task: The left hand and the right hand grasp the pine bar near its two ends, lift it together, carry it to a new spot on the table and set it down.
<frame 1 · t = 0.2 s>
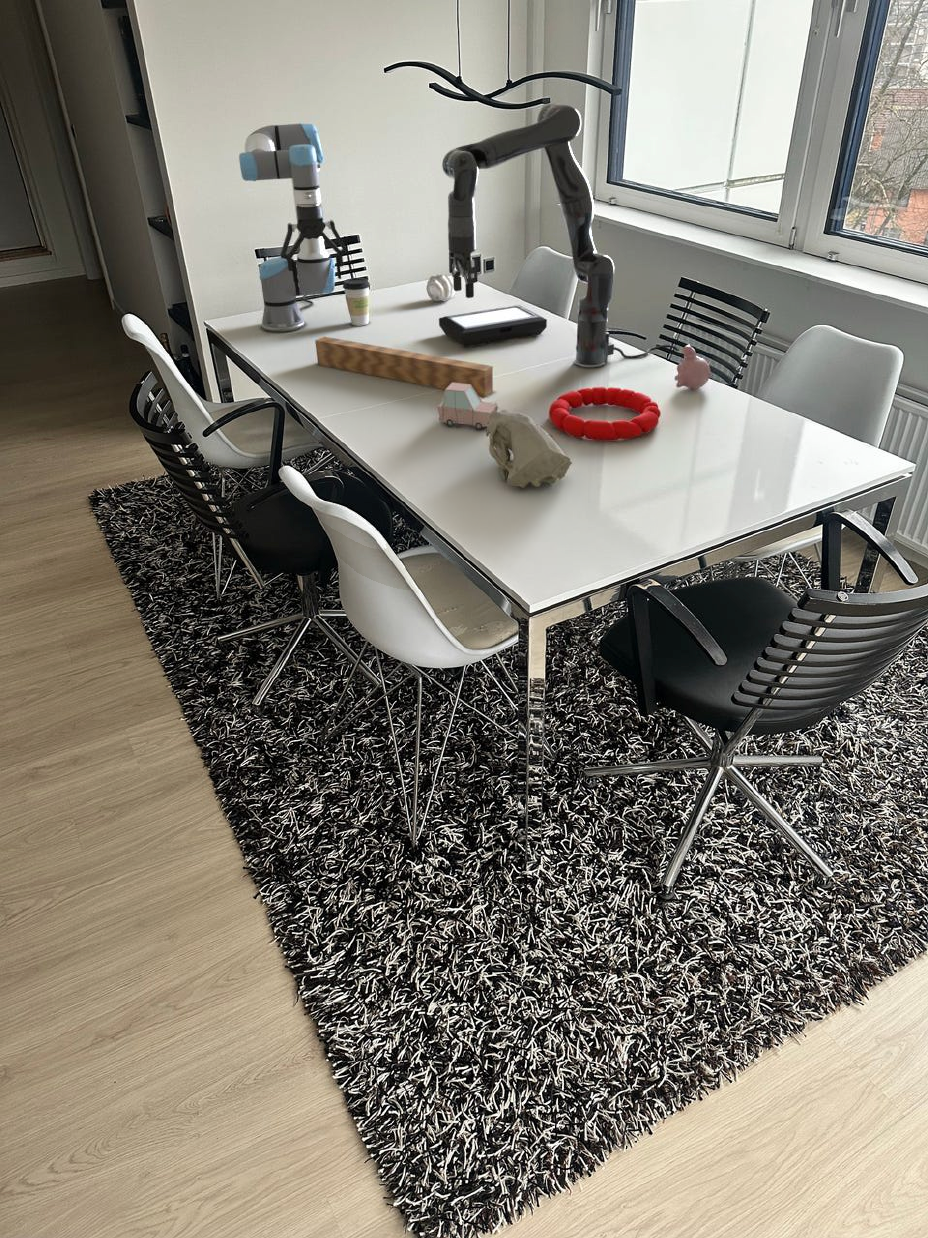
left hand: (317, 279, 273), 27 cm above the table, tool pointing down, fingers open, 13 cm apart
right hand: (463, 293, 251), 28 cm above the table, tool pointing down, fingers open, 8 cm apart
bar: (401, 377, 278), on the table
coffee cup: (360, 323, 327), on the table
figurine: (690, 388, 263), on the table
animal skull: (520, 470, 220), on the table
decorative ring: (603, 422, 244), on the table
toy car: (468, 423, 246), on the table
electronic device: (492, 335, 311), on the table
seashell: (442, 301, 349), on the table
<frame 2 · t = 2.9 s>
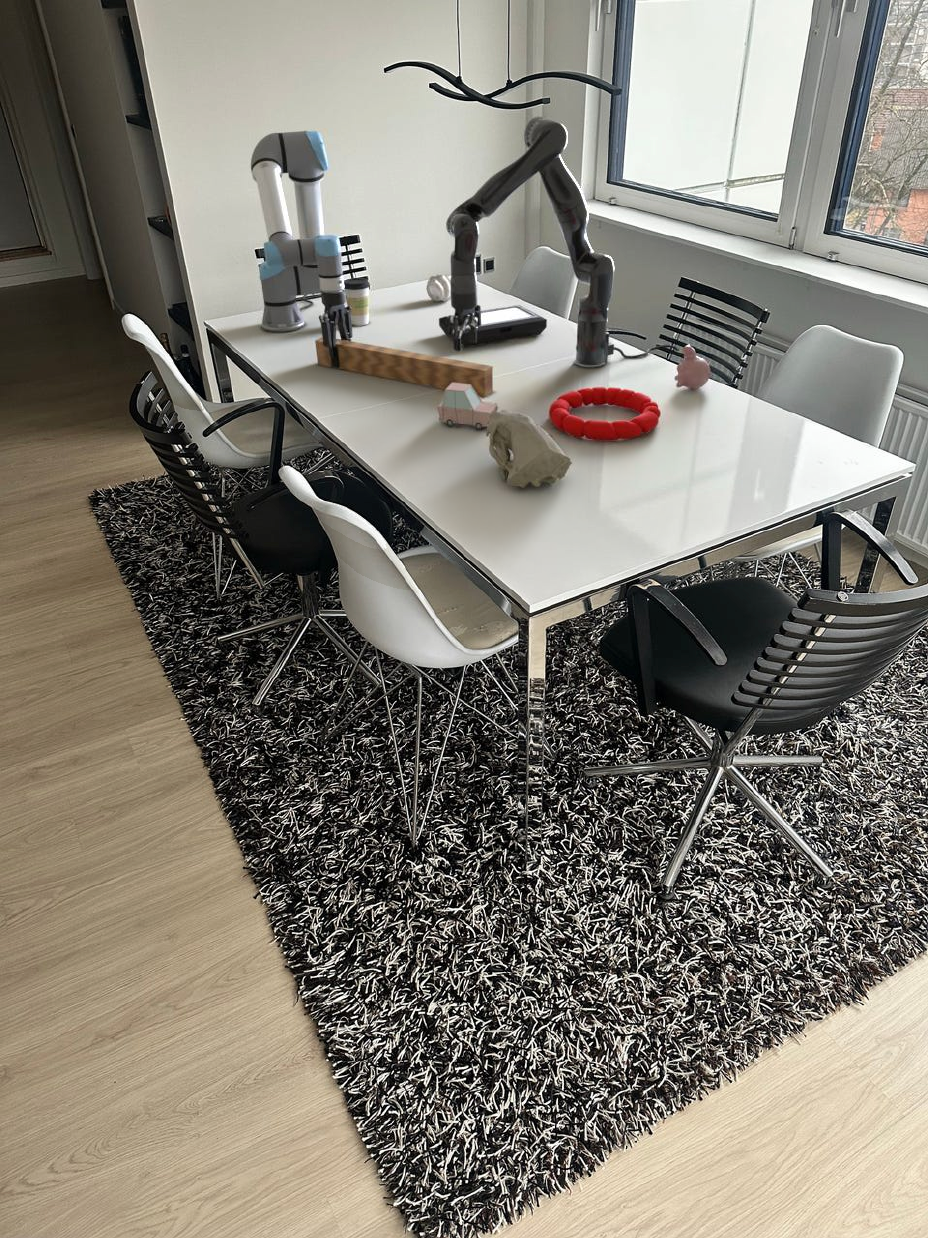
left hand: (340, 364, 288), 1 cm above the table, tool pointing down, fingers closed on bar, 5 cm apart
right hand: (465, 346, 260), 13 cm above the table, tool pointing down, fingers open, 8 cm apart
bar: (401, 377, 278), on the table, touching left hand
everything else where it was.
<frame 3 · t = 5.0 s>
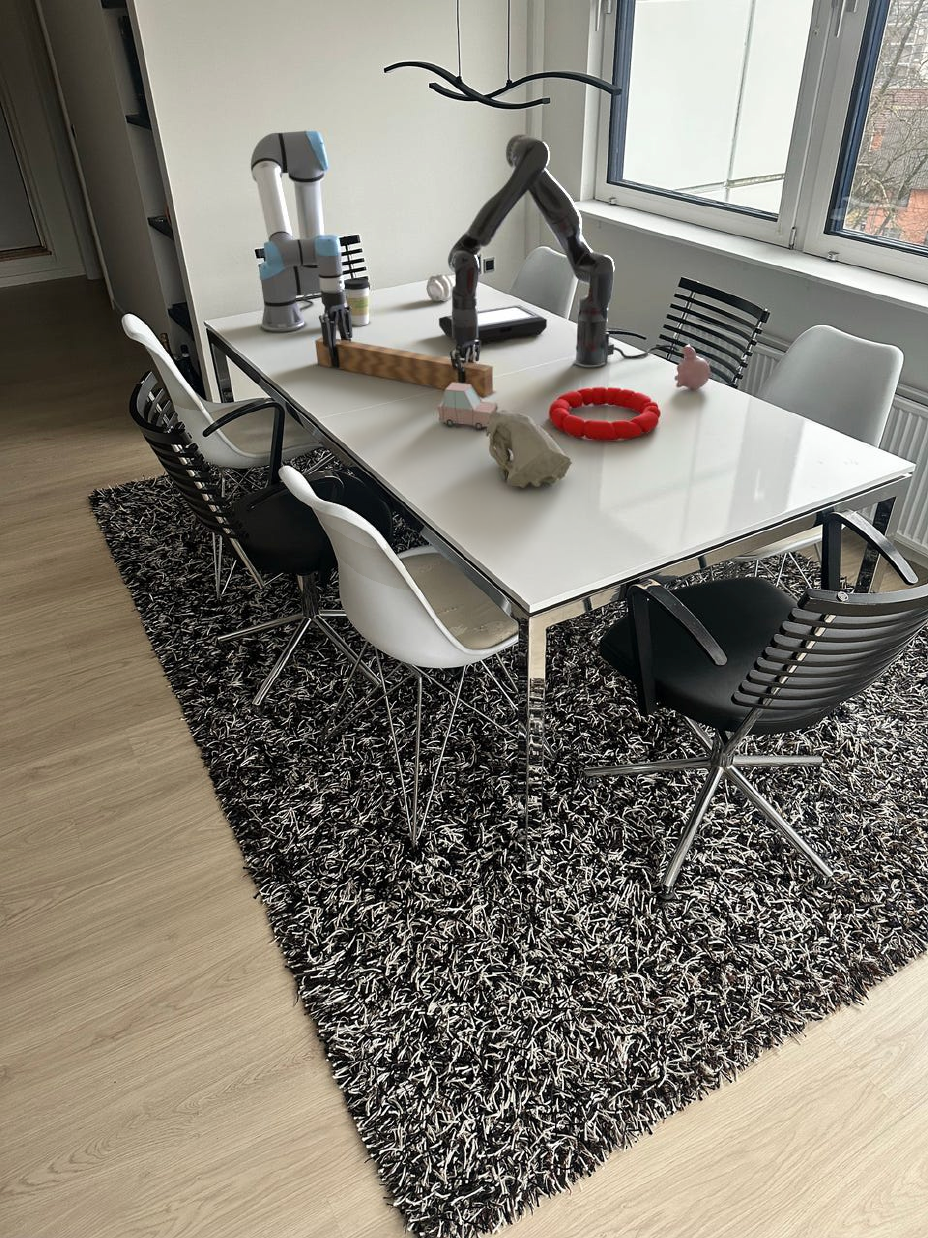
left hand: (340, 364, 288), 1 cm above the table, tool pointing down, fingers closed on bar, 5 cm apart
right hand: (466, 379, 265), 3 cm above the table, tool pointing down, fingers closed on bar, 4 cm apart
bar: (401, 377, 278), on the table, touching left hand, right hand
everything else where it was.
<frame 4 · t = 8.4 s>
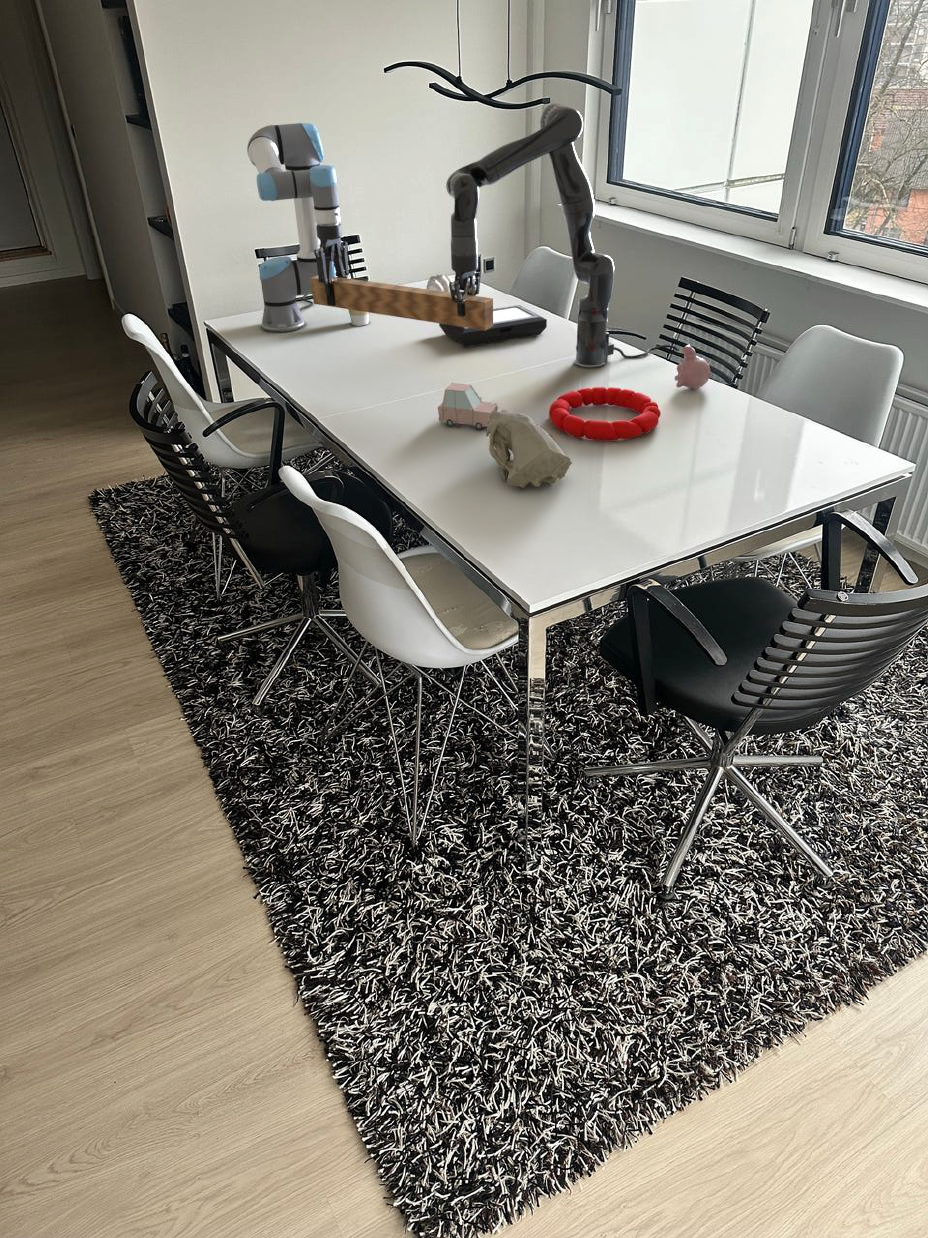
left hand: (336, 302, 281), 19 cm above the table, tool pointing down, fingers closed on bar, 5 cm apart
right hand: (466, 313, 258), 22 cm above the table, tool pointing down, fingers closed on bar, 4 cm apart
bar: (399, 314, 270), point 18 cm above the table, touching left hand, right hand
everything else where it was.
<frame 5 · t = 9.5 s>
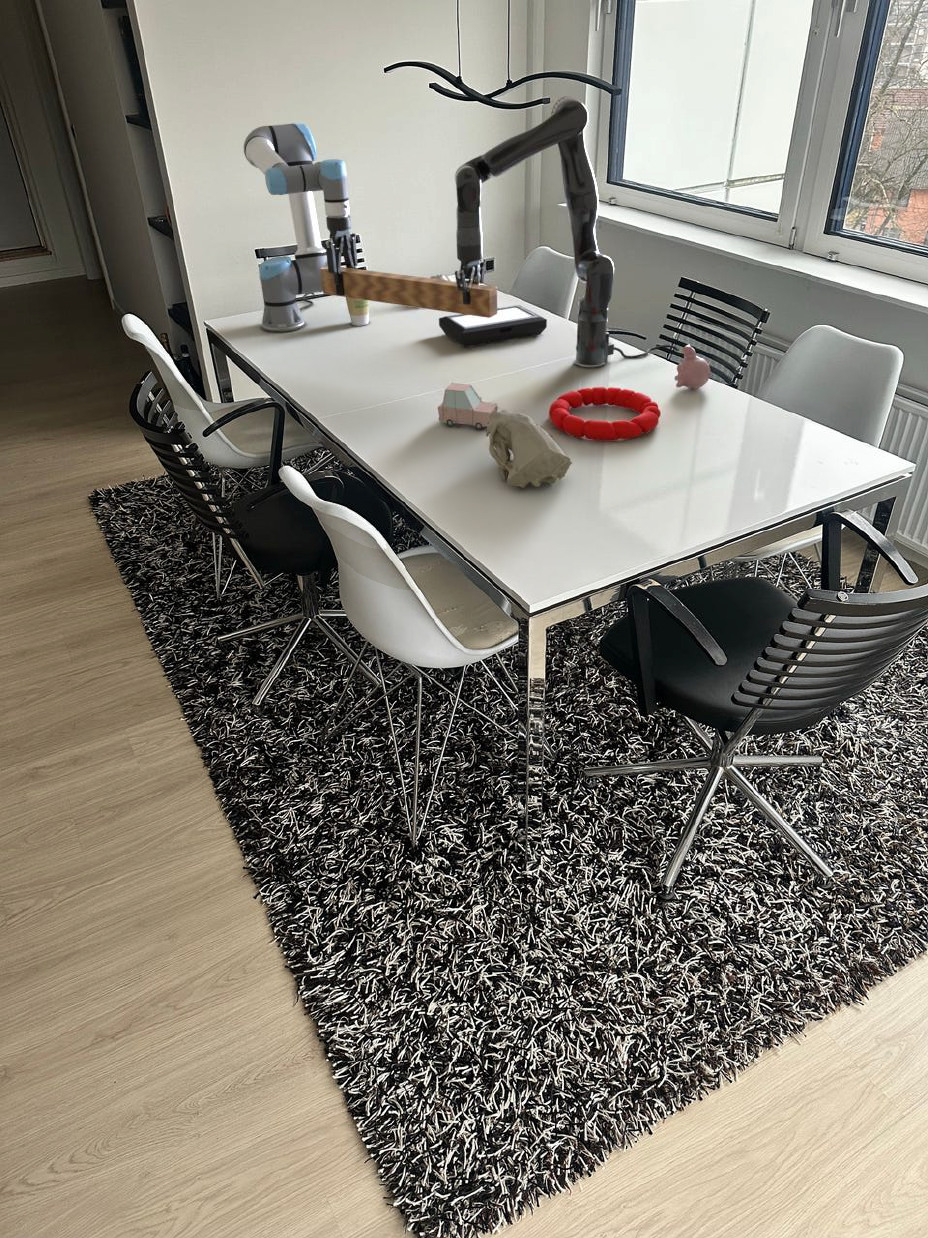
left hand: (345, 292, 290), 19 cm above the table, tool pointing down, fingers closed on bar, 5 cm apart
right hand: (471, 301, 267), 22 cm above the table, tool pointing down, fingers closed on bar, 4 cm apart
bar: (406, 303, 280), point 18 cm above the table, touching left hand, right hand
everything else where it was.
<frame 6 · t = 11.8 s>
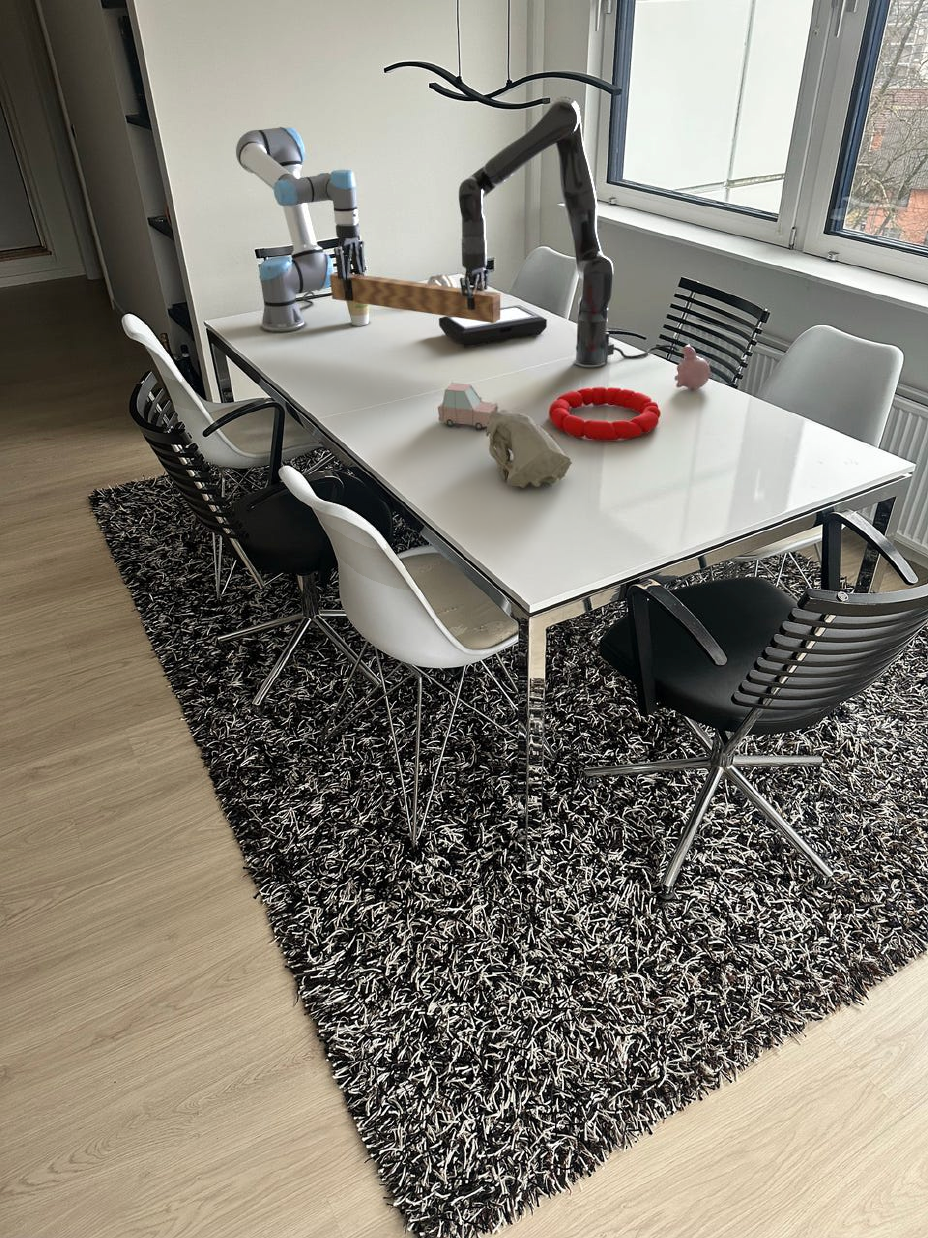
left hand: (354, 297, 301), 15 cm above the table, tool pointing down, fingers closed on bar, 5 cm apart
right hand: (475, 307, 278), 17 cm above the table, tool pointing down, fingers closed on bar, 4 cm apart
bar: (412, 308, 290), point 14 cm above the table, touching left hand, right hand
everything else where it was.
when the left hand's fingers open (2 cm above the table, at t = 13.8 s): bar drops 1 cm, on the table.
when the right hand's fingers open (5 cm above the table, at t = 14.0 s): bar stays where it is, on the table.
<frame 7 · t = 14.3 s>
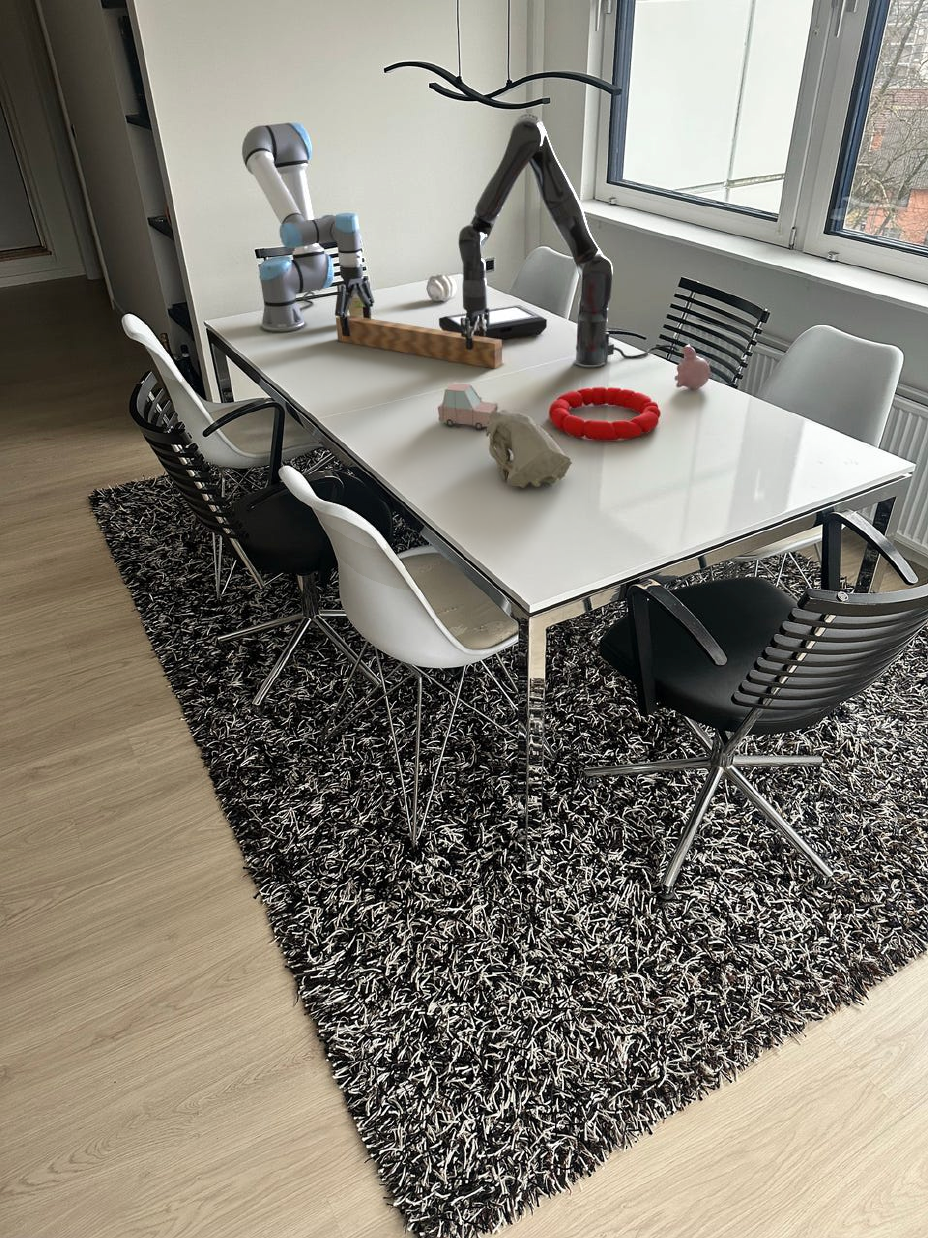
left hand: (357, 330, 307), 4 cm above the table, tool pointing down, fingers open, 11 cm apart
right hand: (475, 345, 285), 5 cm above the table, tool pointing down, fingers open, 7 cm apart
bar: (416, 351, 298), on the table
everything else where it was.
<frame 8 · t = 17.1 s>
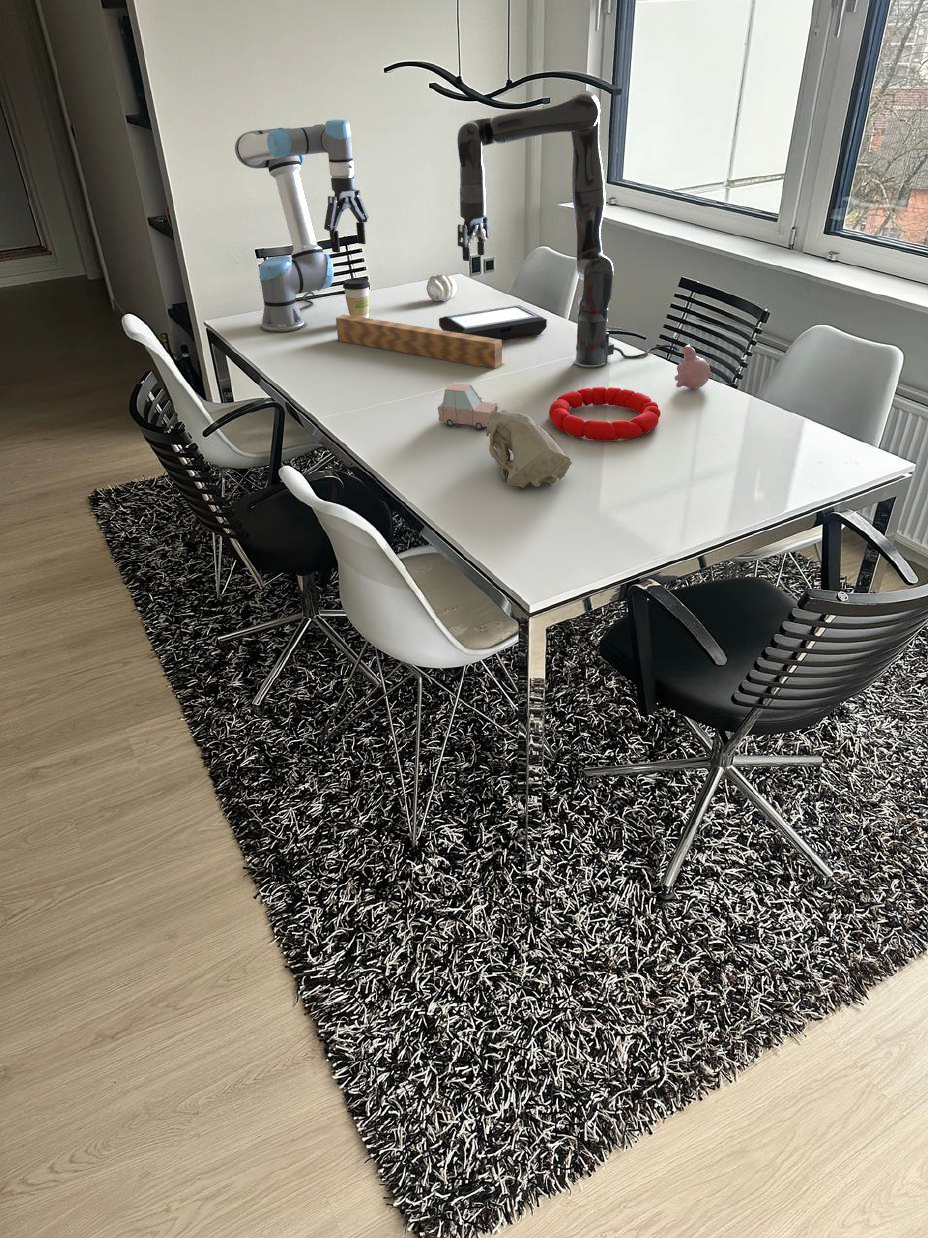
left hand: (349, 247, 292), 31 cm above the table, tool pointing down, fingers open, 13 cm apart
right hand: (474, 257, 269), 32 cm above the table, tool pointing down, fingers open, 8 cm apart
nothing on the table moved.
at the end: bar inside the target area (0.5 cm from its centre), on the table; bar tilted 0°; bar never tilted more than 2° during the clip; both hands held the bar at the same time; the left hand is holding nothing; the right hand is holding nothing; bar at rest at the end (0.0 cm/s) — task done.
